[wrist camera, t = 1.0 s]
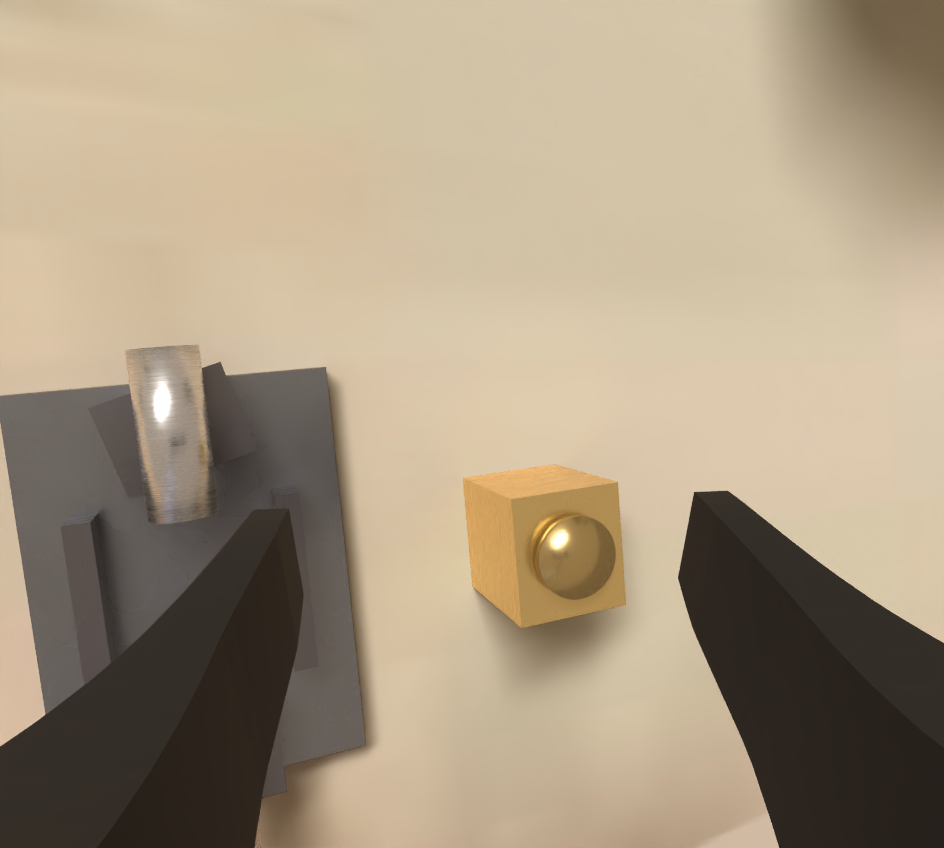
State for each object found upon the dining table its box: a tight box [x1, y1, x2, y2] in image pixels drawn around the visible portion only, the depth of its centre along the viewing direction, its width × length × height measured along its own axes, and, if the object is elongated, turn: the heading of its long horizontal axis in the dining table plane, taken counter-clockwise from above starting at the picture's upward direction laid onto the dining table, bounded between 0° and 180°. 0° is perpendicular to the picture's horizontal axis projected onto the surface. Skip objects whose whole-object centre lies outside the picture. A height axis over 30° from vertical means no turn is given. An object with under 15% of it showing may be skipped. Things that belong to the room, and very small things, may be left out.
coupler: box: [463, 465, 626, 628], centre depth 27 cm, size 4×4×6 cm
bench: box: [0, 345, 366, 848], centre depth 23 cm, size 16×10×5 cm, turn 5°
